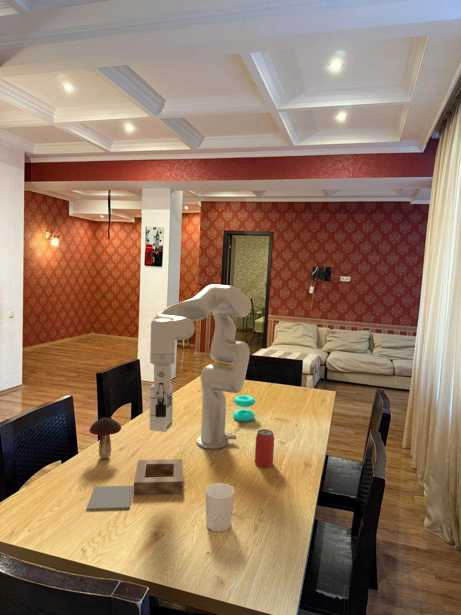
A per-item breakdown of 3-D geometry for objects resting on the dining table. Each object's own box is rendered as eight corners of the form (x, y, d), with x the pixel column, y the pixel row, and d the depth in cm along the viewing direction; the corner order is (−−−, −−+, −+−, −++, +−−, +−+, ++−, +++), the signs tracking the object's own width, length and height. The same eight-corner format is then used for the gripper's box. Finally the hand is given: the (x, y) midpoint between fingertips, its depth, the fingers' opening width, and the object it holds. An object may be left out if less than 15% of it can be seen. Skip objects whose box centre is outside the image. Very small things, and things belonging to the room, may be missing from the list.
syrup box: (166, 432, 135) (167, 387, 133) (148, 430, 136) (149, 385, 134) (172, 425, 140) (173, 382, 139) (155, 423, 141) (156, 380, 140)
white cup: (204, 516, 122) (205, 482, 121) (231, 516, 123) (233, 482, 122) (204, 533, 114) (206, 498, 113) (234, 533, 115) (235, 497, 114)
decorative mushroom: (95, 450, 160) (95, 411, 159) (124, 452, 160) (125, 413, 159) (84, 464, 150) (84, 422, 148) (115, 466, 149) (116, 424, 148)
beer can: (274, 461, 158) (276, 430, 156) (270, 469, 151) (272, 437, 150) (257, 458, 160) (258, 427, 158) (252, 466, 153) (254, 433, 152)
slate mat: (133, 487, 136) (133, 485, 136) (129, 508, 124) (129, 507, 124) (94, 488, 134) (94, 486, 134) (86, 510, 122) (86, 508, 122)
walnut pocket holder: (182, 470, 148) (182, 459, 148) (182, 493, 133) (183, 481, 133) (137, 471, 146) (138, 460, 146) (133, 495, 131) (133, 482, 131)
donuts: (232, 400, 195) (234, 393, 205) (232, 421, 196) (234, 414, 206) (254, 401, 194) (255, 395, 204) (253, 423, 195) (254, 415, 205)
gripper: (174, 364, 127) (172, 422, 129) (174, 352, 145) (172, 403, 147) (148, 364, 126) (147, 422, 128) (151, 351, 144) (150, 403, 146)
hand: (161, 411), depth 137 cm, fingers closed on syrup box, 7 cm apart
